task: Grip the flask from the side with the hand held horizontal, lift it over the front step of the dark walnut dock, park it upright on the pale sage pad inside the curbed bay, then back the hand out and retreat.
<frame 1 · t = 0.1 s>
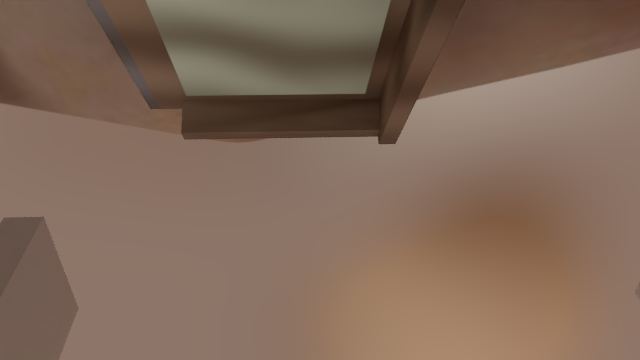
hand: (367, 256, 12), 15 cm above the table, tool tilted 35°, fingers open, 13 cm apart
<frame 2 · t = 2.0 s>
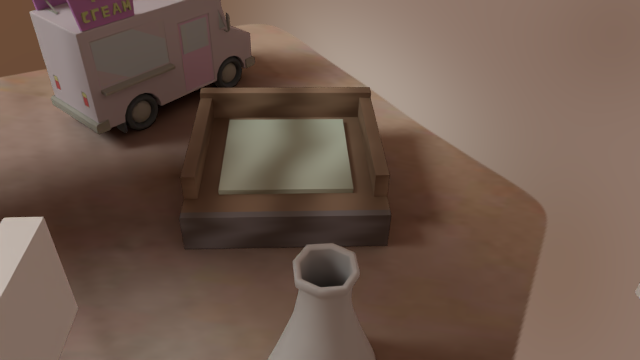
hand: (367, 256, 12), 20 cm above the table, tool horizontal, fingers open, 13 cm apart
dock: (286, 184, 46), on the table
toy vehicle: (164, 101, 58), on the table
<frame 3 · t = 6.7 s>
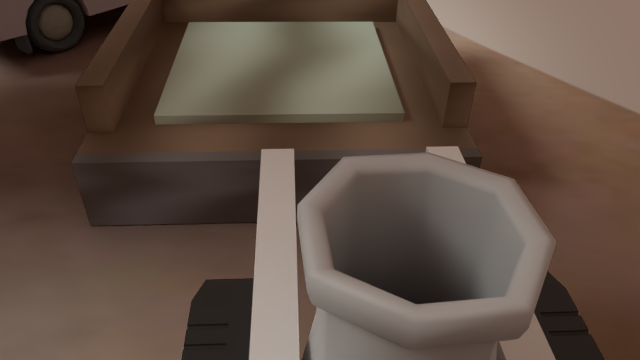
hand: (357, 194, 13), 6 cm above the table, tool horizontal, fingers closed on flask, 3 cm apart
dock: (282, 122, 28), on the table
toy vehicle: (102, 20, 39), on the table
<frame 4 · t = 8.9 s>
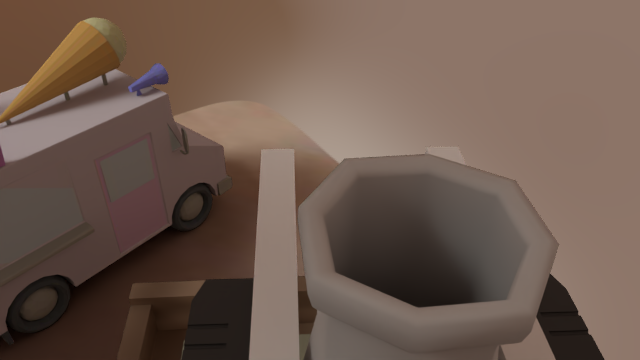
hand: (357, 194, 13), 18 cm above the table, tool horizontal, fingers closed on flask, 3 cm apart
toy vehicle: (90, 256, 37), on the table
when the fingers open (11 cm above the table, at t = 10.9 s): flask drops 2 cm, resting on dock.
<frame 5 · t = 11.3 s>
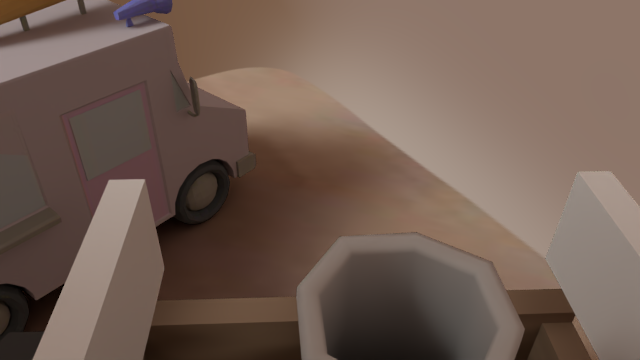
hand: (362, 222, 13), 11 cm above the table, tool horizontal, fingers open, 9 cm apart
toy vehicle: (64, 256, 27), on the table
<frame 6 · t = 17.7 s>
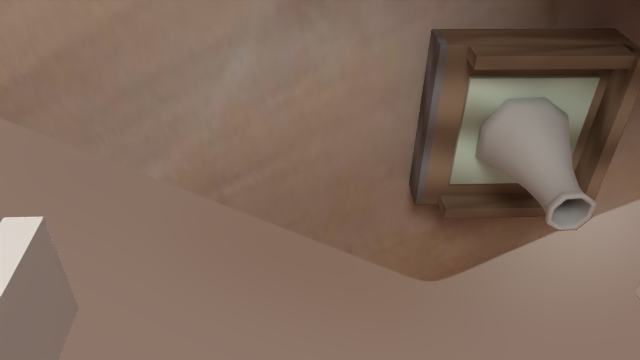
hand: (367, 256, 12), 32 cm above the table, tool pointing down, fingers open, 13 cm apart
flask: (518, 132, 44), point 3 cm above the table, touching dock
dock: (506, 113, 47), on the table
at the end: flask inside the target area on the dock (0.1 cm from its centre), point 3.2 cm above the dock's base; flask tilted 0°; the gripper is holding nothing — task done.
